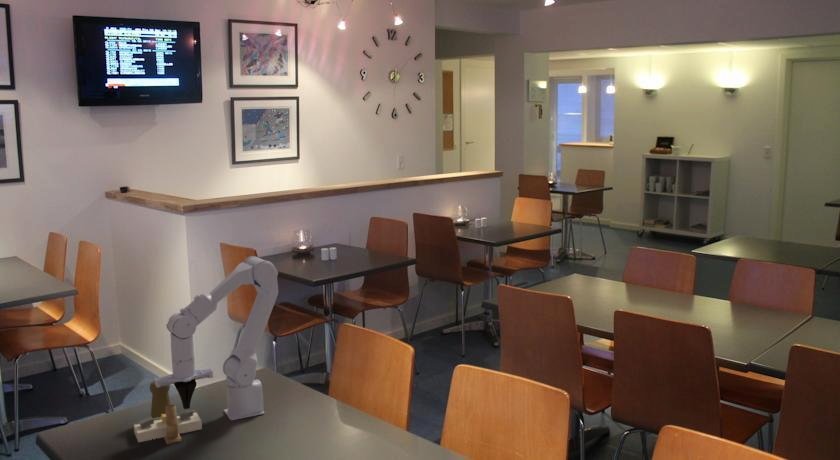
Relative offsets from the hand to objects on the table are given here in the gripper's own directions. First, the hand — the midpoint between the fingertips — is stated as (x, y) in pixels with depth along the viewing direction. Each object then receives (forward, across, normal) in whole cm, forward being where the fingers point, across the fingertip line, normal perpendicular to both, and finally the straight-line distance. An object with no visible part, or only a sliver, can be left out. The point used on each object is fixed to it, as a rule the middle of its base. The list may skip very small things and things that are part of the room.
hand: (186, 407), depth 196 cm
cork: (+6, -5, +9) cm, 12 cm away
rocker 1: (+3, -10, 0) cm, 10 cm away
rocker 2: (+3, -5, 0) cm, 6 cm away
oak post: (+5, -5, -6) cm, 10 cm away
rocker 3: (+3, 0, 0) cm, 3 cm away
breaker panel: (+5, -5, 0) cm, 7 cm away
